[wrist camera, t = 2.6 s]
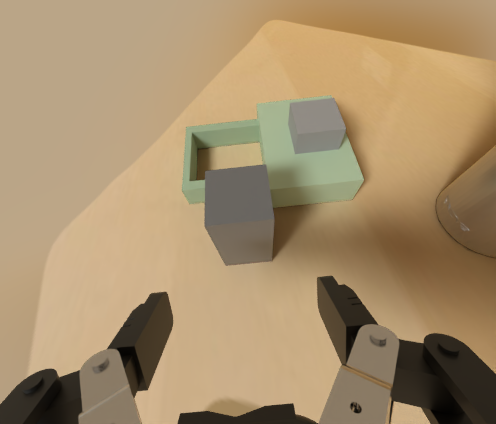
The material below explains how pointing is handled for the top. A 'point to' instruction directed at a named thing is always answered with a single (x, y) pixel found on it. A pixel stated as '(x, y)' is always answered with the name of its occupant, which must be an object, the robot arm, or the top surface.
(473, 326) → the top surface
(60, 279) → the top surface
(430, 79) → the top surface
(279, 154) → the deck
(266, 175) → the tall slate pillar
